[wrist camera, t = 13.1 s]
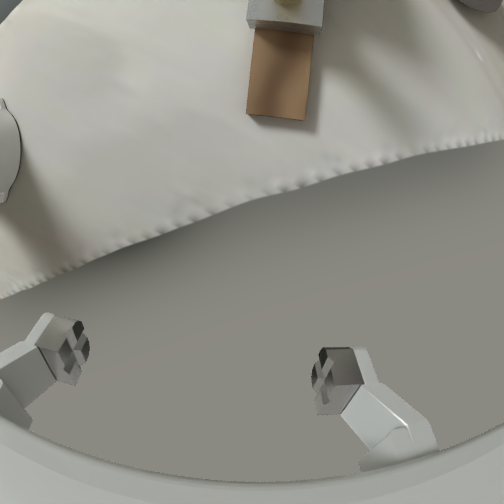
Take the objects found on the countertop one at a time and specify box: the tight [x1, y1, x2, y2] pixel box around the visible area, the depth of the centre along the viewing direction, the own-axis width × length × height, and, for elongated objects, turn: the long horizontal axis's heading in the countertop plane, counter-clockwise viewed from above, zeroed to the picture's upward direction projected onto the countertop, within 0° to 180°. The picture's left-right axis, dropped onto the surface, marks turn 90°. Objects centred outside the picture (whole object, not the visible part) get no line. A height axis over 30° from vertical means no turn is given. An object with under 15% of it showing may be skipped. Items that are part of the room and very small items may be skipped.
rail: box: [246, 29, 314, 121], centre depth 24 cm, size 6×18×2 cm, turn 174°
